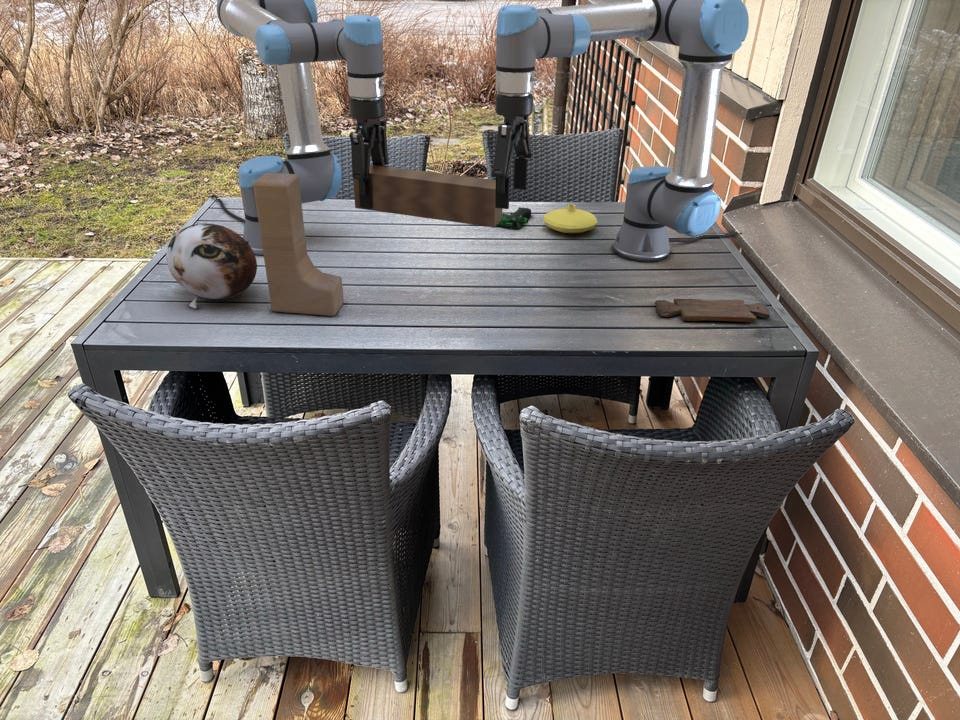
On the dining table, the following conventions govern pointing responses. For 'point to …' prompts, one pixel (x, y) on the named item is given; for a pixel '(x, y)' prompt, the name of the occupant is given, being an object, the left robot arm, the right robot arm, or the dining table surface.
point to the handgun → (515, 218)
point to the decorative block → (291, 251)
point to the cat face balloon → (211, 261)
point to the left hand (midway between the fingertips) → (372, 202)
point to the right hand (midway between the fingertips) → (511, 198)
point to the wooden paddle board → (712, 310)
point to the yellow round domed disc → (570, 220)
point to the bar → (432, 195)
